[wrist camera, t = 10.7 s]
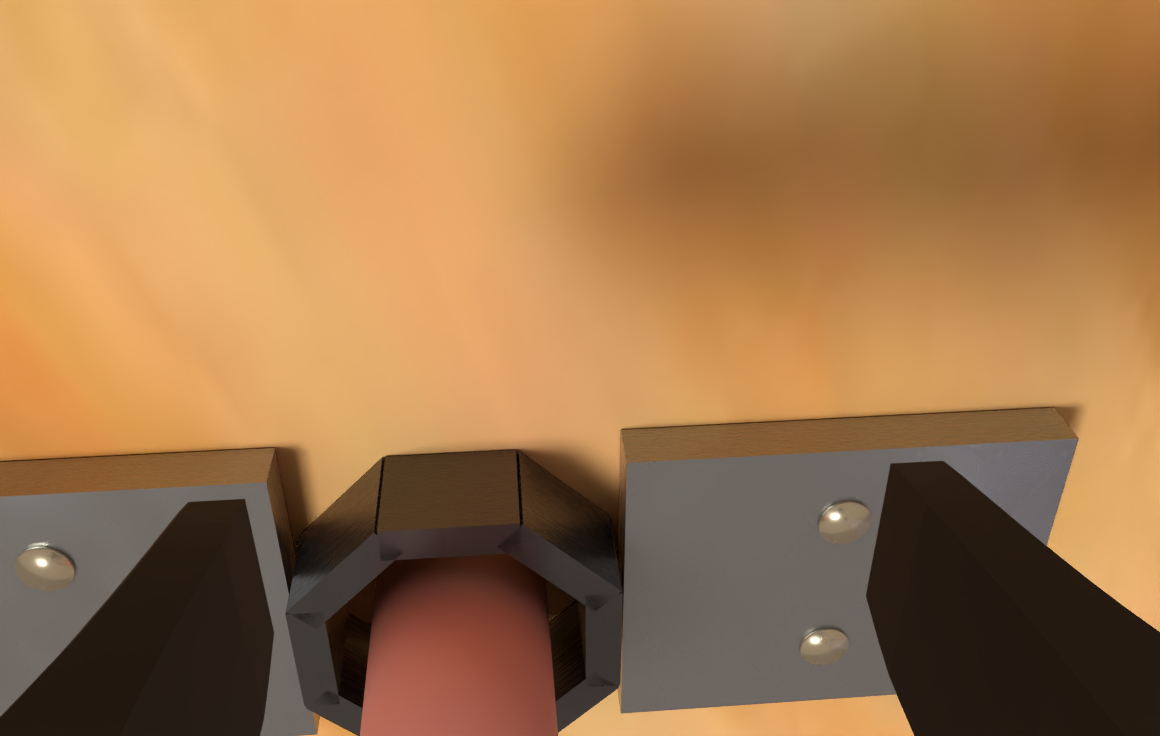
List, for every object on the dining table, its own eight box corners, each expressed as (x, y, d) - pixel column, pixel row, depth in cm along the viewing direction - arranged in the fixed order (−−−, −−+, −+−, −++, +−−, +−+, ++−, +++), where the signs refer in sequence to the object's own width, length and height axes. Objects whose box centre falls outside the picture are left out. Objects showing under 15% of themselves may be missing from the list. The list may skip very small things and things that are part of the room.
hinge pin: (546, 625, 28) (570, 933, 21) (386, 635, 27) (358, 951, 21) (542, 502, 26) (567, 802, 19) (368, 512, 25) (330, 819, 19)
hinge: (986, 651, 30) (1025, 727, 27) (-79, 723, 28) (-125, 810, 26) (1054, 407, 25) (1107, 475, 23) (-203, 472, 23) (-270, 552, 21)
